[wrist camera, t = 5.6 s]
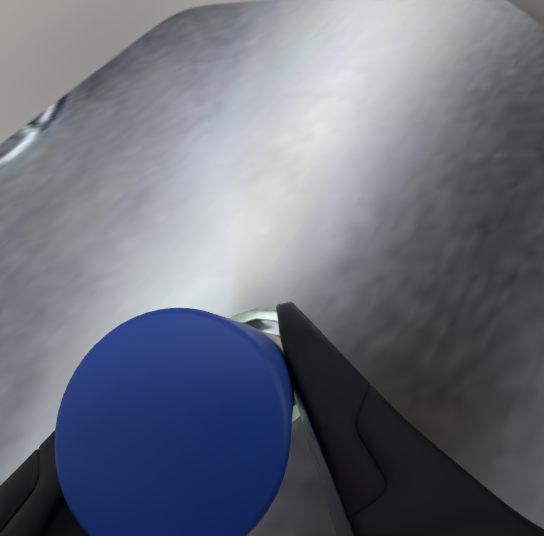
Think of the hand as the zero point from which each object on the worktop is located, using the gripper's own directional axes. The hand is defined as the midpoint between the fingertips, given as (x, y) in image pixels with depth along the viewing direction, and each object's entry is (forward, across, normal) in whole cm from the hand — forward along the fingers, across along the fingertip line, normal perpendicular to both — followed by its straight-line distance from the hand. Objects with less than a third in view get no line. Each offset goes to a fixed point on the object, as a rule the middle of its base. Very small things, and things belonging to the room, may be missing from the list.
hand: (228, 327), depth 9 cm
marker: (+4, 0, +6) cm, 7 cm away
